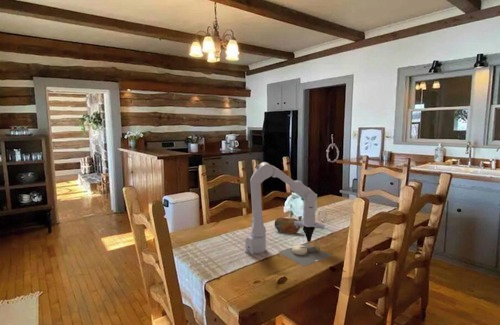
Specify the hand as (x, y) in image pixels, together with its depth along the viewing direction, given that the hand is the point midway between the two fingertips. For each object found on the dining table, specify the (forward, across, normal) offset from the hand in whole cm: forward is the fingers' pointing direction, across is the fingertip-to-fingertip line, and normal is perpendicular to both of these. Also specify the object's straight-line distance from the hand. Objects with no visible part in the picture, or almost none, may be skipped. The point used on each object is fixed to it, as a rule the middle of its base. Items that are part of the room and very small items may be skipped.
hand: (309, 241), depth 149 cm
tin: (+5, -18, +20) cm, 27 cm away
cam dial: (+3, 0, -7) cm, 7 cm away
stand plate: (+4, 0, -9) cm, 10 cm away
